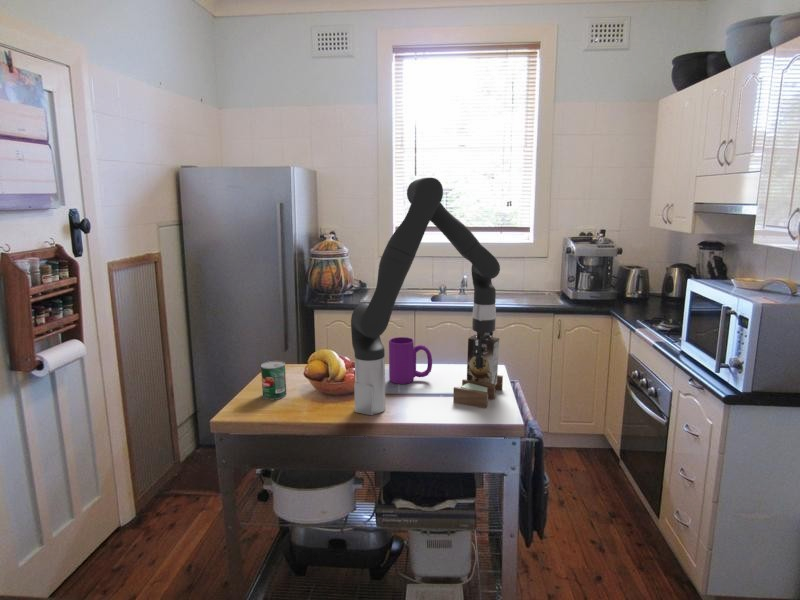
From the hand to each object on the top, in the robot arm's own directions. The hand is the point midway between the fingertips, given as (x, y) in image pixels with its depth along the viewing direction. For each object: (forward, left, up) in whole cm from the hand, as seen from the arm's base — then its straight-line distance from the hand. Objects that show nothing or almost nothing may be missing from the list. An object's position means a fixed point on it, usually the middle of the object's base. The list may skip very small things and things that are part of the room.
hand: (482, 364), depth 176 cm
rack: (-4, 0, -10) cm, 10 cm away
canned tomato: (-33, +62, -10) cm, 71 cm away
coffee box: (0, 0, -7) cm, 7 cm away
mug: (0, +27, -10) cm, 29 cm away
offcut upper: (-8, 0, -8) cm, 11 cm away
